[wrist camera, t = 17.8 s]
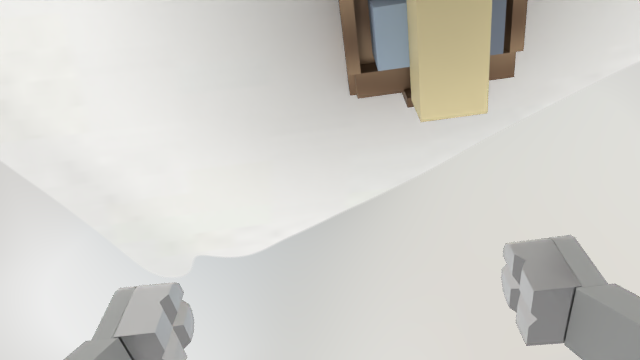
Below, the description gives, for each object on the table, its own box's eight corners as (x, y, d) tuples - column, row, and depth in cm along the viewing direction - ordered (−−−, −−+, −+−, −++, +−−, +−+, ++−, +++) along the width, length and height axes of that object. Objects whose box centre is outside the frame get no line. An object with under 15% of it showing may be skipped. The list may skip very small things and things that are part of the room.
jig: (332, -50, 31) (334, -42, 27) (517, -80, 30) (544, -76, 26) (349, 91, 36) (352, 114, 32) (507, 69, 35) (529, 90, 31)
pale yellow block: (404, -46, 27) (414, -38, 24) (474, -57, 26) (494, -51, 23) (411, 100, 31) (420, 122, 28) (471, 91, 31) (487, 113, 28)
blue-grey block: (367, -5, 32) (373, 7, 28) (487, -24, 31) (507, -13, 28) (372, 53, 34) (378, 71, 30) (484, 36, 33) (503, 53, 30)
